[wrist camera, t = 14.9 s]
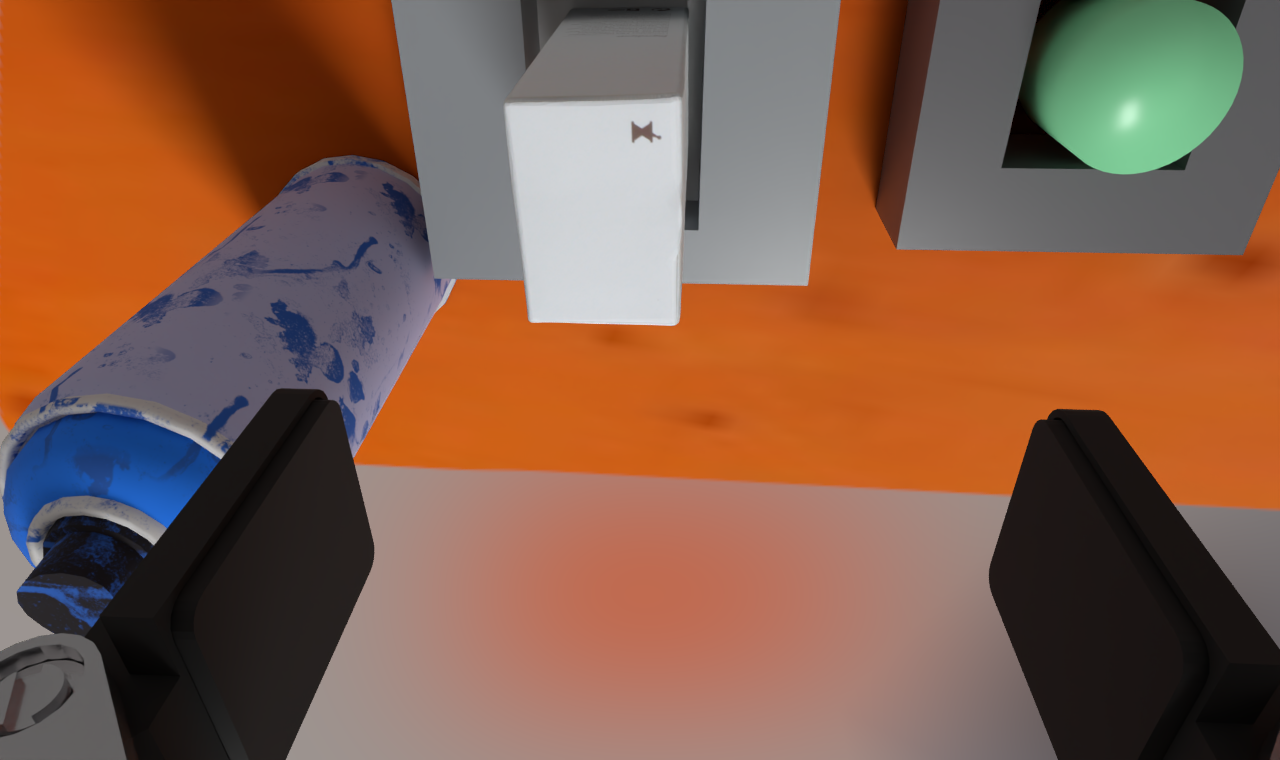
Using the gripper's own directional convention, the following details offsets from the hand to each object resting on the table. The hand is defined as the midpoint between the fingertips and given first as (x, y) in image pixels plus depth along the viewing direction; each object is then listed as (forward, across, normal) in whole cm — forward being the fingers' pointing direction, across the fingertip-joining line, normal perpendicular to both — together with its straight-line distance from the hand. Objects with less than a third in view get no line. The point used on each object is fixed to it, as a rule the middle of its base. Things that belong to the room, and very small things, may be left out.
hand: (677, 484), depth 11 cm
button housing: (+23, -14, -1) cm, 27 cm away
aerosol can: (+23, +13, +7) cm, 28 cm away
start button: (+21, -14, -1) cm, 25 cm away
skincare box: (+22, +2, 0) cm, 22 cm away
